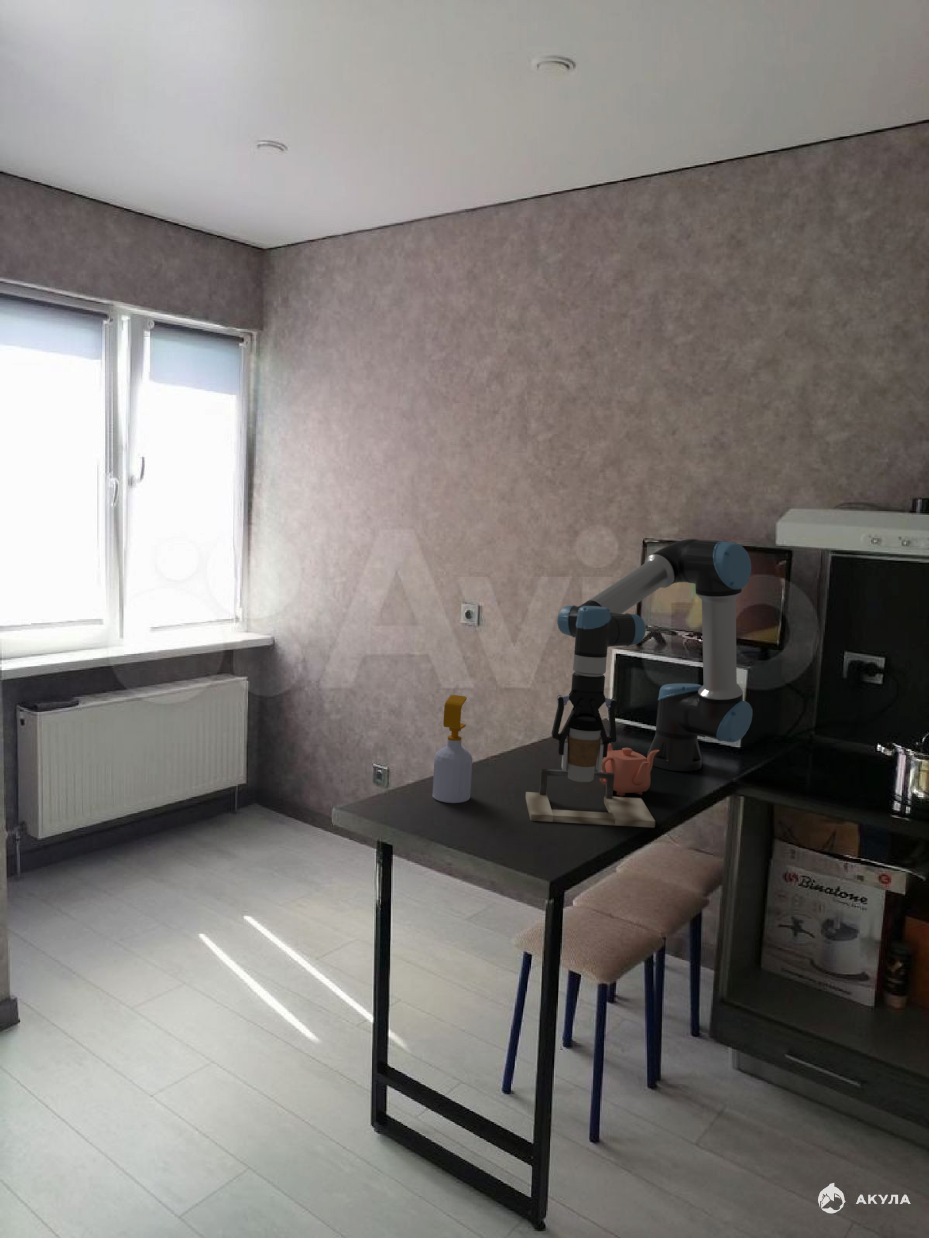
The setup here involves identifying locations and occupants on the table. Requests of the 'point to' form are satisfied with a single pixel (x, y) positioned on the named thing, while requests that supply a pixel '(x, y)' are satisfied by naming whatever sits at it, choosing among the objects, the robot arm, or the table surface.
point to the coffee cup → (583, 747)
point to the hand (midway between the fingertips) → (581, 769)
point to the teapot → (628, 770)
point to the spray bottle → (452, 759)
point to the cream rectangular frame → (618, 808)
